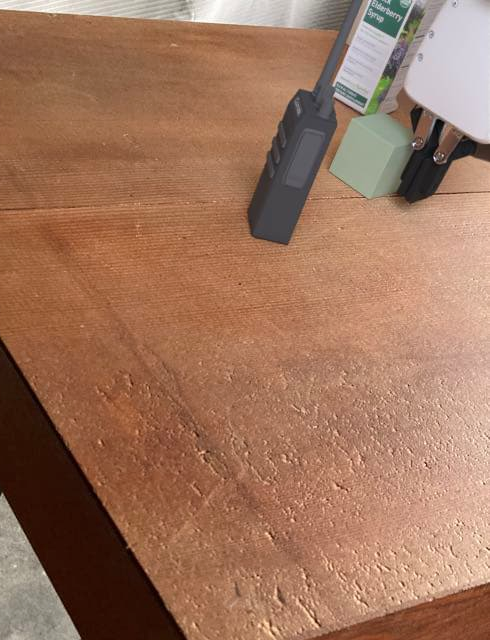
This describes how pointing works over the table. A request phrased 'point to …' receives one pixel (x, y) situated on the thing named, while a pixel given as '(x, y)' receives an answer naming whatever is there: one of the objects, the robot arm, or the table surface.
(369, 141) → the sage block
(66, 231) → the table surface
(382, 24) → the syrup box
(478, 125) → the robot arm
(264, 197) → the walkie-talkie
